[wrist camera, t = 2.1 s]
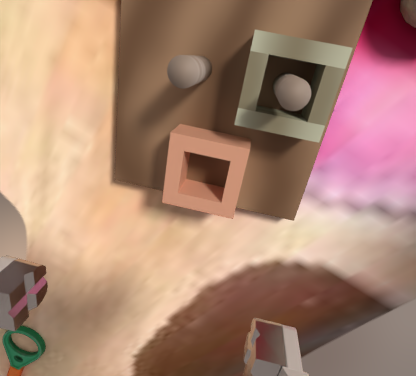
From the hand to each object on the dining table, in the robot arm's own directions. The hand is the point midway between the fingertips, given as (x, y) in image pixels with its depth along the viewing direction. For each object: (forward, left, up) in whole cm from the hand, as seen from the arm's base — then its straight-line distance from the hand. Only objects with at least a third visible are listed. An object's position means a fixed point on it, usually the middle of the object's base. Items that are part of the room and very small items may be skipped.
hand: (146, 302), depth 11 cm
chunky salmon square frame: (0, 0, -16) cm, 16 cm away
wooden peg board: (0, -7, -17) cm, 18 cm away
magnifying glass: (+23, +38, -18) cm, 48 cm away
